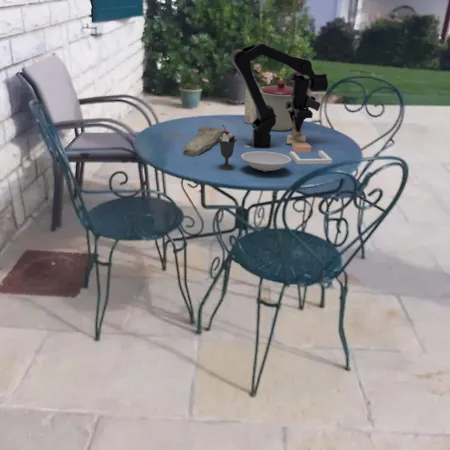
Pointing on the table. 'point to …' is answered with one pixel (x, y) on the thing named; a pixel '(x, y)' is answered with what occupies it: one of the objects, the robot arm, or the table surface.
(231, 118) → the table surface
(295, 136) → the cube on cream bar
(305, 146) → the tile
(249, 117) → the aerosol can
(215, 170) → the table surface
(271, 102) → the canister
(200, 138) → the elongated rock
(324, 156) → the corral
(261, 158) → the dish
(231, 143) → the sundae
